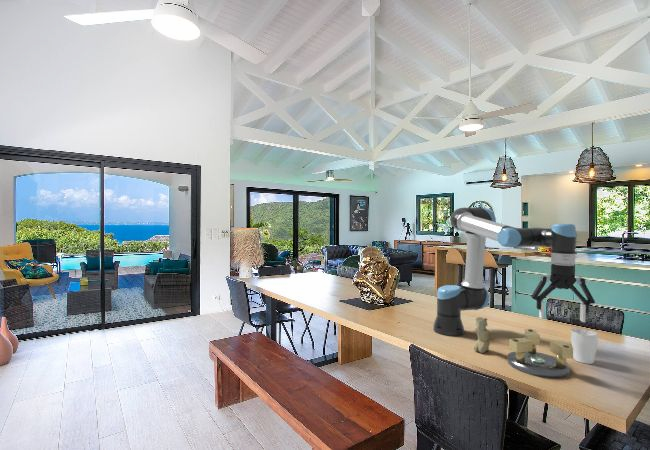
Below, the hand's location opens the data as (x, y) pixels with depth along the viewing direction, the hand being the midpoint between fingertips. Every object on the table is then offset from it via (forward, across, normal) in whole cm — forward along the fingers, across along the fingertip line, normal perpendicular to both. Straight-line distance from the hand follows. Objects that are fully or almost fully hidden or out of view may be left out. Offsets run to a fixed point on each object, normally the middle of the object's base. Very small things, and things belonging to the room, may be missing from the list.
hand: (561, 319), depth 131 cm
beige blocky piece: (+18, -7, +12) cm, 23 cm away
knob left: (+18, -14, 0) cm, 23 cm away
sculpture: (+21, -26, +14) cm, 36 cm away
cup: (+21, +13, +16) cm, 29 cm away
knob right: (+18, 0, 0) cm, 18 cm away
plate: (+20, -7, +4) cm, 22 cm away
